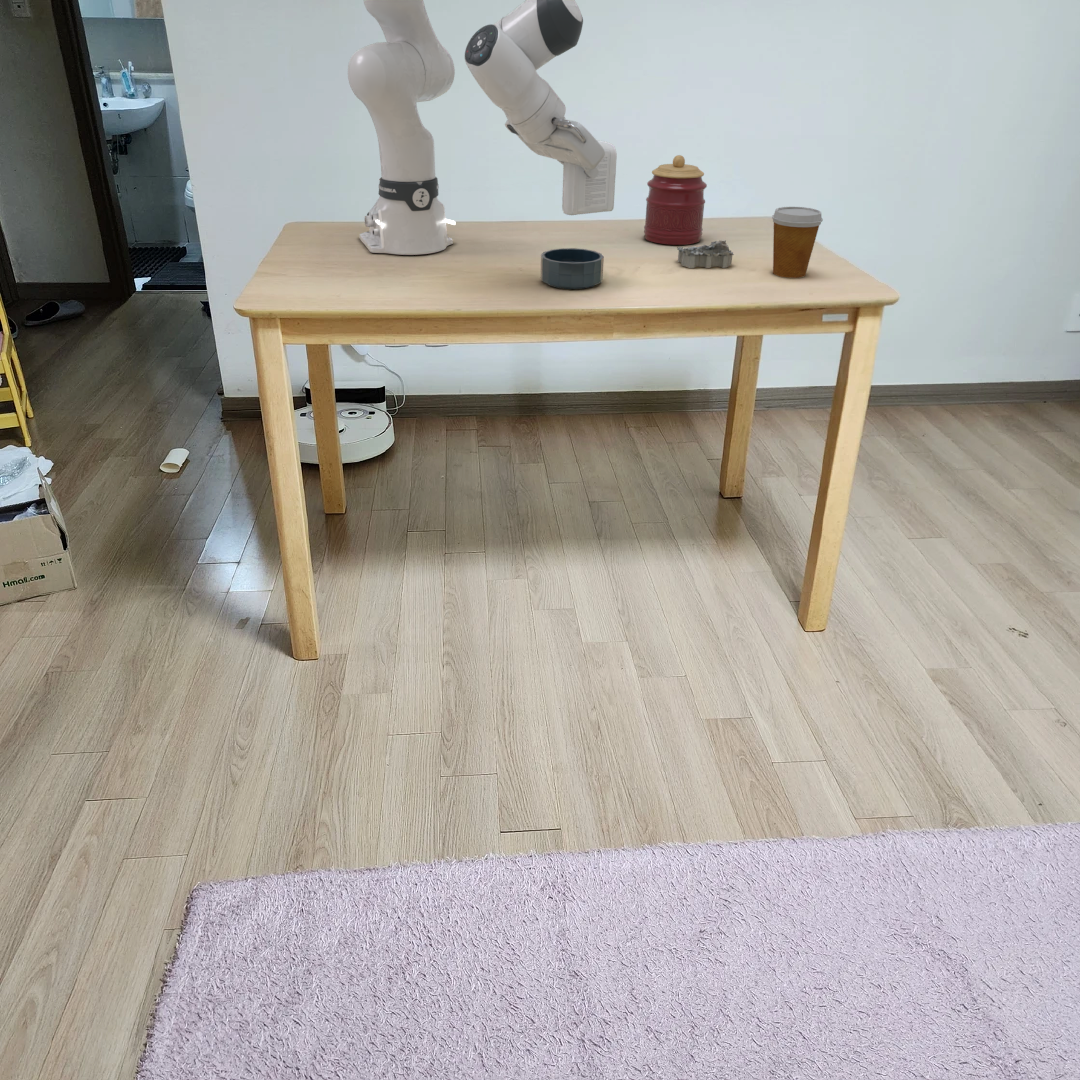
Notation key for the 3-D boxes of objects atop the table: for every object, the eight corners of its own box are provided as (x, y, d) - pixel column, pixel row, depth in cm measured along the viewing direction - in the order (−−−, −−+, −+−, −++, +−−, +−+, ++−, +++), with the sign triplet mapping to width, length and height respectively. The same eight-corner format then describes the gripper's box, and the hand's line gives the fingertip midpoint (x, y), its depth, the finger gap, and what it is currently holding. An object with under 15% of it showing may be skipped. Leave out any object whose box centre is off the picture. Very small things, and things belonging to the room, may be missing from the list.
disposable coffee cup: (815, 270, 188) (825, 208, 182) (811, 282, 180) (821, 217, 174) (767, 266, 190) (776, 204, 184) (761, 277, 183) (770, 213, 176)
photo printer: (603, 207, 176) (606, 136, 170) (617, 211, 173) (621, 139, 167) (558, 213, 171) (559, 140, 165) (571, 217, 168) (573, 143, 162)
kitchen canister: (632, 240, 209) (638, 155, 200) (660, 230, 218) (666, 149, 209) (685, 248, 202) (692, 161, 193) (711, 238, 212) (720, 154, 203)
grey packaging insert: (725, 260, 195) (728, 239, 193) (733, 269, 188) (736, 248, 186) (675, 259, 194) (676, 239, 192) (681, 268, 188) (683, 247, 186)
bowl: (529, 278, 179) (530, 252, 177) (580, 271, 185) (581, 245, 182) (561, 293, 171) (562, 266, 168) (613, 285, 176) (615, 258, 173)
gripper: (584, 107, 151) (629, 167, 160) (521, 96, 166) (567, 151, 176) (559, 138, 152) (607, 196, 161) (499, 124, 167) (546, 178, 176)
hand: (585, 173), depth 168 cm, fingers closed on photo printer, 4 cm apart
